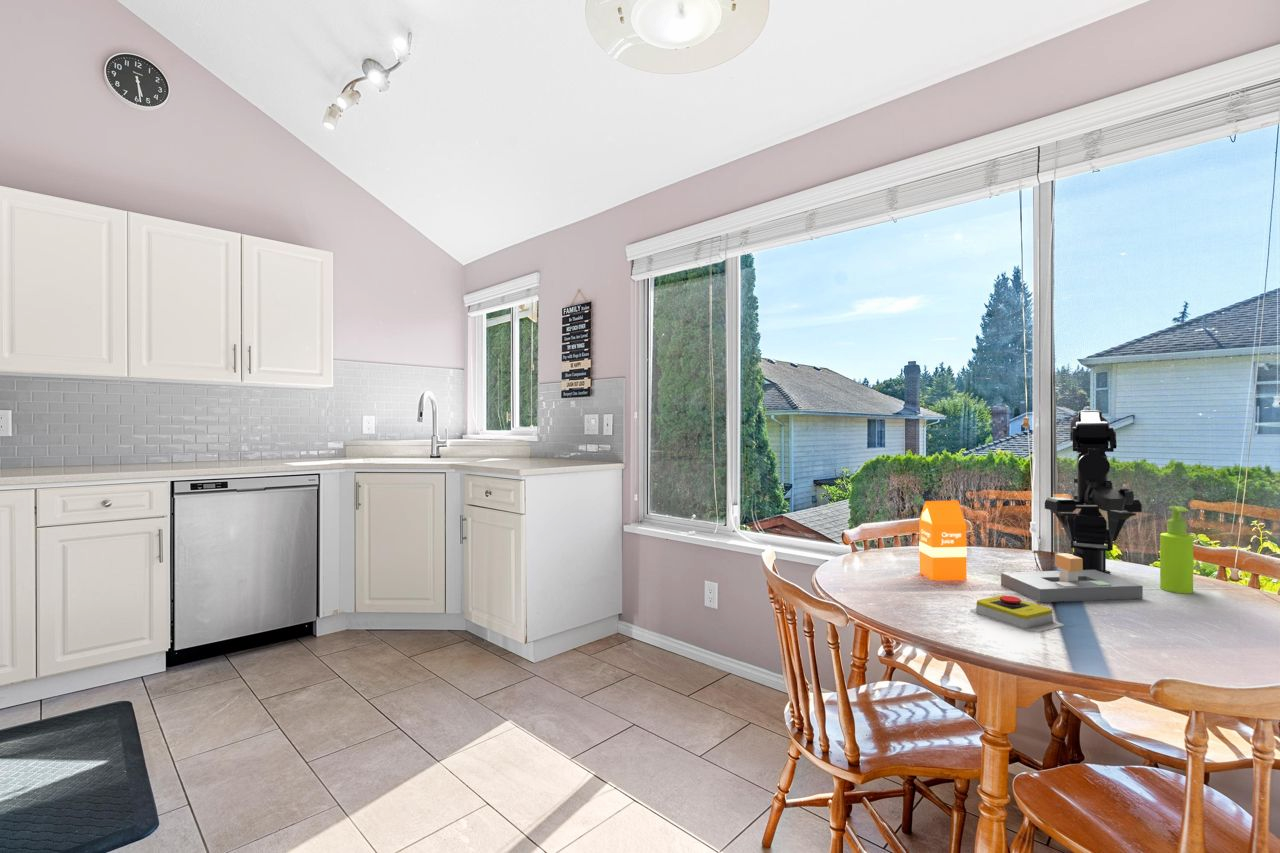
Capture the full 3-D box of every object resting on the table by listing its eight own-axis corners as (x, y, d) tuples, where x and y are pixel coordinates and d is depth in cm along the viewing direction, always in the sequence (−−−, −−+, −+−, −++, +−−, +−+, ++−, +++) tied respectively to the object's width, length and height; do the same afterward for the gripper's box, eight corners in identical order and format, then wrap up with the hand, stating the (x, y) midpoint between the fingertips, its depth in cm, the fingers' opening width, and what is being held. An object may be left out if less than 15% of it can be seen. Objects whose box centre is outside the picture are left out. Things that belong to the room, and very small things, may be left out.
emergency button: (996, 587, 137) (1065, 606, 123) (997, 606, 137) (1066, 628, 123) (967, 593, 133) (1035, 613, 119) (967, 613, 133) (1035, 635, 120)
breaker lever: (1066, 582, 148) (1066, 553, 147) (1082, 588, 143) (1082, 558, 142) (1054, 583, 148) (1054, 553, 147) (1070, 589, 143) (1070, 558, 142)
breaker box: (1094, 581, 153) (1094, 568, 152) (1142, 598, 139) (1142, 584, 139) (1001, 584, 152) (1000, 571, 152) (1040, 602, 138) (1039, 588, 138)
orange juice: (967, 580, 156) (966, 502, 156) (932, 580, 156) (931, 503, 156) (951, 572, 164) (951, 498, 164) (919, 572, 164) (918, 498, 164)
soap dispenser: (1168, 593, 142) (1168, 508, 141) (1155, 585, 148) (1156, 503, 148) (1200, 595, 140) (1200, 509, 139) (1186, 587, 146) (1186, 504, 146)
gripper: (1071, 478, 137) (1072, 548, 137) (1160, 478, 135) (1160, 548, 135) (1043, 474, 148) (1043, 538, 148) (1124, 473, 146) (1125, 538, 146)
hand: (1092, 541), depth 144 cm, fingers open, 9 cm apart
